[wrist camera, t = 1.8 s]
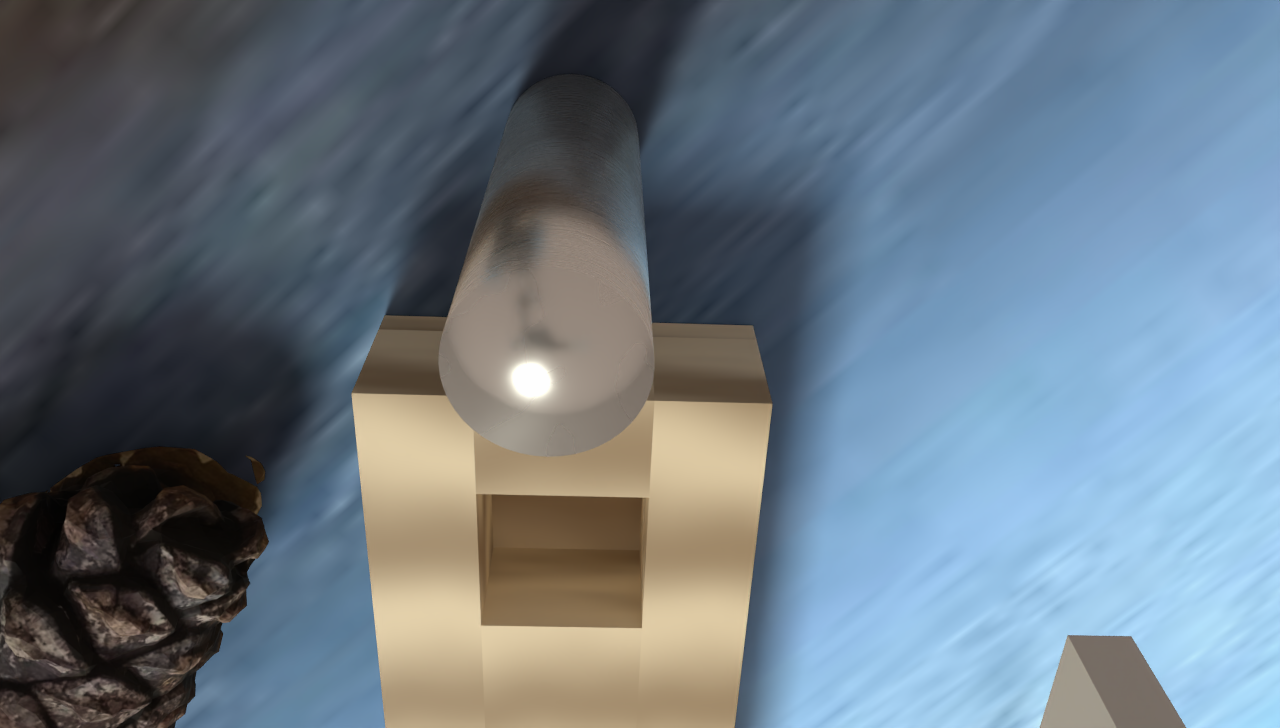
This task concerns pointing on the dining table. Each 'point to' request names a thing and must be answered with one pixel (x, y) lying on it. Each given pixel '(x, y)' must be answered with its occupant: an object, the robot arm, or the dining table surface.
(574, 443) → the steel pin
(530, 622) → the hole block
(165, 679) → the pine cone
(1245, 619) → the dining table surface
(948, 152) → the dining table surface
